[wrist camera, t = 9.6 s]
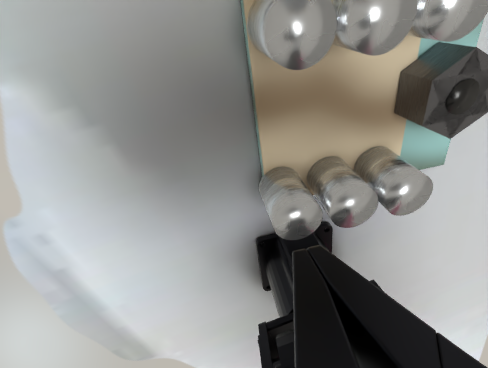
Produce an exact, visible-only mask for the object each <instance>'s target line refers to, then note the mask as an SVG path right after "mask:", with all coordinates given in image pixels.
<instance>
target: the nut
mask: <svg viewBox="0 0 488 368" xmlns="http://www.w3.org/2000/svg"><path fill="white" fill-rule="evenodd" d="M487 112H488V55H487V54H486V53H485V52H483V51H482V50H480V49H479V48H477V47H472V46H464V45H457V44H450V43H443V42H438V43H437V44H436V45H434V46H433V47H432V48H431V49H429V50H428V51H427V52H425V53H424V54H423V55H422V56H420V57H419V58H418V59H416V60H415V61H414V62H413V63H411V64H410V65H409V66H407V67H406V68H405V69H404V70H402V71H401V74H400V80H399V86H398V92H397V98H396V104H395V110H394V113H395V114H397V115H399V116H401V117H403V118H405V119H408V120H410V121H412V122H414V123H416V124H418V125H420V126H422V127H425V128H427V129H429V130H431V131H434V132H436V133H438V134H440V135H443V136H445V137H447V138H449V139H451V138H452V137H454V136H455V135H456V134H458V133H459V132H461V131H462V130H463V129H465V128H466V127H468V126H469V125H470V124H472V123H473V122H475V121H476V120H477V119H479V118H480V117H482V116H483V115H484V114H486V113H487Z"/></svg>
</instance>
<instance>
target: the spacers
mask: <svg viewBox="0 0 488 368" xmlns="http://www.w3.org/2000/svg"><path fill="white" fill-rule="evenodd" d="M487 12H488V0H255V2H254V3H253V5H252V6H251V8H250V11H249V14H248V18H247V31H248V36H249V38H250V41H251V42H252V44H253V45H254V47H255V48H256V49H257V50H259V51H260V52H261V53H263V54H264V55H266V56H267V57H269V58H270V59H272V60H273V61H275V62H276V63H278V64H279V65H281V66H283V67H285V68H287V69H291V70H303V69H307V68H309V67H311V66H313V65H315V64H316V63H318V62H319V61H320V60H321V59H322V58H323V57H324V56H325V55H326V54H327V52H328V51H329V49H330V47H331V46H332V45H336V46H339V47H342V48H346V49H349V50H352V51H356V52H359V53H363V54H366V55H371V56H376V55H381V54H384V53H387V52H389V51H391V50H392V49H394V48H395V47H396V46H397V45H399V44H400V43H401V42H402V41H403V39H404V38H405V37H406V36H413V37H419V38H425V39H432V40H438V41H444V42H450V41H455V40H458V39H461V38H463V37H464V36H466V35H467V34H469V33H470V32H471V31H473V30H474V29H475V28H476V27H477V26H478V25H479V23H480V22H481V21H482V20H483V18H484V17H485V15H486V14H487ZM307 183H308V185H309V187H310V188H311V190H312V191H313V193H314V194H315V196H316V197H317V199H318V200H319V202H320V203H321V205H322V206H323V208H324V209H325V211H326V212H327V214H328V215H329V217H330V218H331V220H332V221H333V222H334V223H335V224H336V225H337V226H339V227H344V228H350V227H354V226H357V225H360V224H362V223H364V222H365V221H366V220H368V219H369V218H370V217H371V216H372V215H373V214H374V212H375V210H376V208H377V206H378V201H379V202H380V203H381V204H382V205H383V206H384V207H385V208H386V209H387V210H388V211H389V212H390V213H391V214H393V215H399V216H400V215H406V214H409V213H412V212H414V211H416V210H417V209H419V208H420V207H421V206H422V205H424V204H425V202H426V201H427V200H428V199H429V197H430V195H431V193H432V190H433V183H432V181H431V179H430V178H429V177H428V176H426V175H425V174H424V173H422V172H421V171H419V170H418V169H417V168H415V167H414V166H412V165H411V164H410V163H408V162H407V161H406V160H404V159H403V158H401V157H400V156H399V155H397V154H396V153H394V152H393V151H392V150H390V149H389V148H387V147H385V146H375V147H372V148H370V149H368V150H366V151H365V152H363V153H362V154H361V155H360V156H359V158H358V159H357V161H356V163H355V166H354V170H353V169H352V168H351V167H350V166H349V165H348V164H347V163H346V162H345V161H344V160H343V159H341V158H339V157H337V156H327V157H324V158H322V159H320V160H318V161H317V162H316V163H314V164H313V165H312V167H311V168H310V170H309V172H308V175H307ZM259 192H260V195H261V197H262V200H263V202H264V205H265V207H266V210H267V212H268V215H269V217H270V220H271V222H272V225H273V227H274V230H275V232H276V234H277V235H278V236H280V237H281V238H283V239H286V240H298V239H302V238H305V237H307V236H309V235H310V234H312V233H313V232H314V231H315V230H316V229H317V228H318V227H319V225H320V224H321V221H322V216H323V214H322V210H321V208H320V206H319V205H318V203H317V202H316V200H315V199H314V197H313V196H312V194H311V193H310V191H309V190H308V188H307V187H306V185H305V184H304V182H303V181H302V179H301V178H300V176H299V175H298V173H297V172H296V171H295V170H294V169H292V168H290V167H284V166H282V167H276V168H273V169H271V170H269V171H268V172H267V173H266V174H265V175H264V176H263V177H262V179H261V180H260V183H259Z"/></svg>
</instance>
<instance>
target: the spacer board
mask: <svg viewBox="0 0 488 368" xmlns="http://www.w3.org/2000/svg"><path fill="white" fill-rule="evenodd" d="M240 1H241V9H242V17H243V26H244V34H245V42H246V50H247V58H248V66H249V74H250V82H251V90H252V99H253V107H254V115H255V123H256V131H257V139H258V147H259V155H260V163H261V171H262V177H263V176H264V175H265V174H266V173H267V172H268V171H269V170H271V169H273V168H276V167H282V166H284V167H290V168H292V169H294V170H295V171H296V172H297V173H298V175H299V176H300V178H301V179H302V181H303V182H304V184H305V185H306V187H307V188H308V190H309V191H310V193H311V194H312V195H315V194H314V193H313V191H312V190H311V188H310V187H309V185H308V183H307V175H308V172H309V170H310V168H311V167H312V165H313V164H314V163H316V162H317V161H318V160H320V159H322V158H324V157H327V156H337V157H339V158H341V159H343V160H344V161H345V162H346V163H347V164H348V165H349V166H350V167H351V168H352V169H353V170H354V166H355V163H356V161H357V159H358V158H359V156H360V155H361V154H362V153H363V152H365V151H366V150H368V149H370V148H372V147H375V146H385V147H387V148H389V149H390V150H392V151H393V152H394V153H396V154H397V155H399V156H400V157H401V158H403V159H404V160H406V161H407V162H408V163H410V164H411V165H412V166H414V167H415V168H417V169H418V170H421V169H426V168H430V167H435V166H439V165H444V162H445V158H446V154H447V151H448V147H449V143H450V140H451V139H449V138H447V137H445V136H443V135H440V134H438V133H436V132H434V131H431V130H429V129H427V128H425V127H422V126H420V125H418V124H416V123H414V122H412V121H410V120H408V119H405V118H403V117H401V116H399V115H397V114H395V113H394V110H395V104H396V98H397V92H398V86H399V80H400V74H401V71H402V70H404V69H405V68H406V67H407V66H409V65H410V64H411V63H413V62H414V61H415V60H416V59H418V58H419V57H420V56H422V55H423V54H424V53H425V52H427V51H428V50H429V49H431V48H432V47H433V46H434V45H436V44H437V43H438V42H443V43H450V44H457V45H464V46H472V47H476V45H477V42H478V38H479V34H480V31H481V27H482V23H483V20H484V18H483V20H482V21H481V22H480V23H479V25H478V26H477V27H476V28H475V29H474V30H473V31H471V32H470V33H469V34H467V35H466V36H464V37H463V38H461V39H458V40H455V41H450V42H444V41H438V40H432V39H425V38H419V37H413V36H406V37H405V38H404V39H403V41H402V42H401V43H400V44H399V45H397V46H396V47H395V48H394V49H392V50H391V51H389V52H387V53H384V54H381V55H376V56H371V55H366V54H363V53H359V52H356V51H352V50H349V49H346V48H342V47H339V46H336V45H332V46H331V47H330V49H329V51H328V52H327V54H326V55H325V56H324V57H323V58H322V59H321V60H320V61H319V62H318V63H316V64H315V65H313V66H311V67H309V68H307V69H303V70H291V69H287V68H285V67H283V66H281V65H279V64H278V63H276V62H275V61H273V60H272V59H270V58H269V57H267V56H266V55H264V54H263V53H261V52H260V51H259V50H257V49H256V48H255V47H254V45H253V44H252V42H251V41H250V38H249V36H248V31H247V18H248V14H249V11H250V8H251V6H252V5H253V3H254V2H255V0H240Z"/></svg>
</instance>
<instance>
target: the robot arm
mask: <svg viewBox="0 0 488 368" xmlns="http://www.w3.org/2000/svg"><path fill="white" fill-rule="evenodd" d="M325 228H326V229H325ZM261 243H262V244H261ZM256 248H257V254H258V260H259V266H260V273H261V279H262V285H263V289H264V290H265V291H270V290H272V293H273V297H274V300H275V303H276V307H277V310H278V313H279V316H280V318H277V319H275V320H272V321H269V322H267V323H266V322H263V323H261V324H258V326H259V334H260V335H259V336H258V344H259V348H260V356H261V364H262V368H487V367H486V366H484V365H483V364H481V363H480V362H479V361H477V360H476V359H474V358H473V357H472V356H470V355H469V354H467V353H466V352H464V351H463V350H462V349H460V348H459V347H457V346H456V345H455V344H453V343H452V342H451V341H449V340H448V339H447V338H445V337H444V336H443V335H441V334H440V333H436V331H435V330H434V329H433V328H432V327H430V326H429V325H428V324H426V323H425V322H423V321H422V320H421V319H419V318H418V317H417V316H415V315H414V314H413V313H411V312H410V311H409V310H407V309H406V308H405V307H403V306H402V305H401V304H399V303H398V302H396V301H395V300H394V299H392V298H391V297H390V296H388V295H387V294H386V293H385V292H384V291H383V290H382V289H381V288H380V287H379V286H378V284H377V283H376V282H375V281H374V280H371V281H368V280H367V279H365V278H364V277H363V276H361V275H360V274H359V273H357V272H356V271H355V270H353V269H352V268H351V267H349V266H348V265H347V264H345V263H344V262H342V261H341V260H340V259H338V258H337V257H336V256H334V255H333V254H332V226H331V225H330V224H329V223H327V222H326V223H321V224H320V225H319V227H318V228H317V229H316V230H315V231H314V232H313V233H312V234H310V235H309V236H307V237H305V238H302V239H298V240H286V239H283V238H281V237H280V236H278V235H277V234H273V235H268V236H264V237H260V238H258V239H257V240H256Z"/></svg>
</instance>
